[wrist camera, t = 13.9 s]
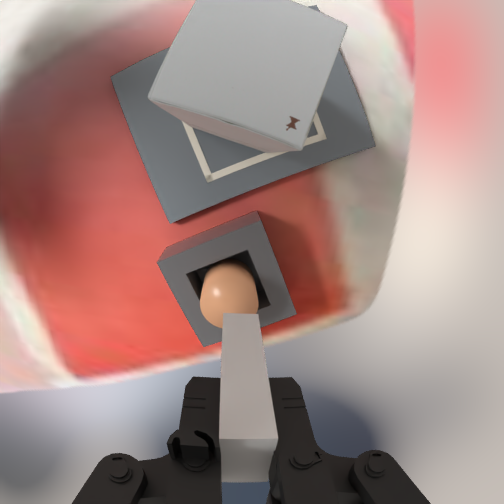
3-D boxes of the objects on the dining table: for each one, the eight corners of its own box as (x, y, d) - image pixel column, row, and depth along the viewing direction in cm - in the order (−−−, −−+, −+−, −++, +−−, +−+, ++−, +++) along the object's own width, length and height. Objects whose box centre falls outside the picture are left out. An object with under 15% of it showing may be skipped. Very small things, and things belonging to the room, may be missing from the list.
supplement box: (299, 80, 22) (355, 25, 10) (267, 155, 24) (303, 157, 12) (218, 50, 21) (209, -27, 9) (185, 126, 23) (142, 101, 11)
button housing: (206, 324, 30) (203, 347, 26) (166, 247, 27) (156, 262, 23) (288, 293, 29) (296, 314, 26) (256, 210, 27) (261, 220, 23)
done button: (216, 311, 27) (214, 336, 23) (195, 269, 25) (189, 290, 21) (261, 294, 26) (266, 317, 23) (243, 251, 25) (245, 269, 21)
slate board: (171, 221, 26) (169, 224, 25) (113, 78, 21) (110, 76, 21) (372, 146, 25) (376, 146, 24) (314, 8, 20) (316, 4, 19)
